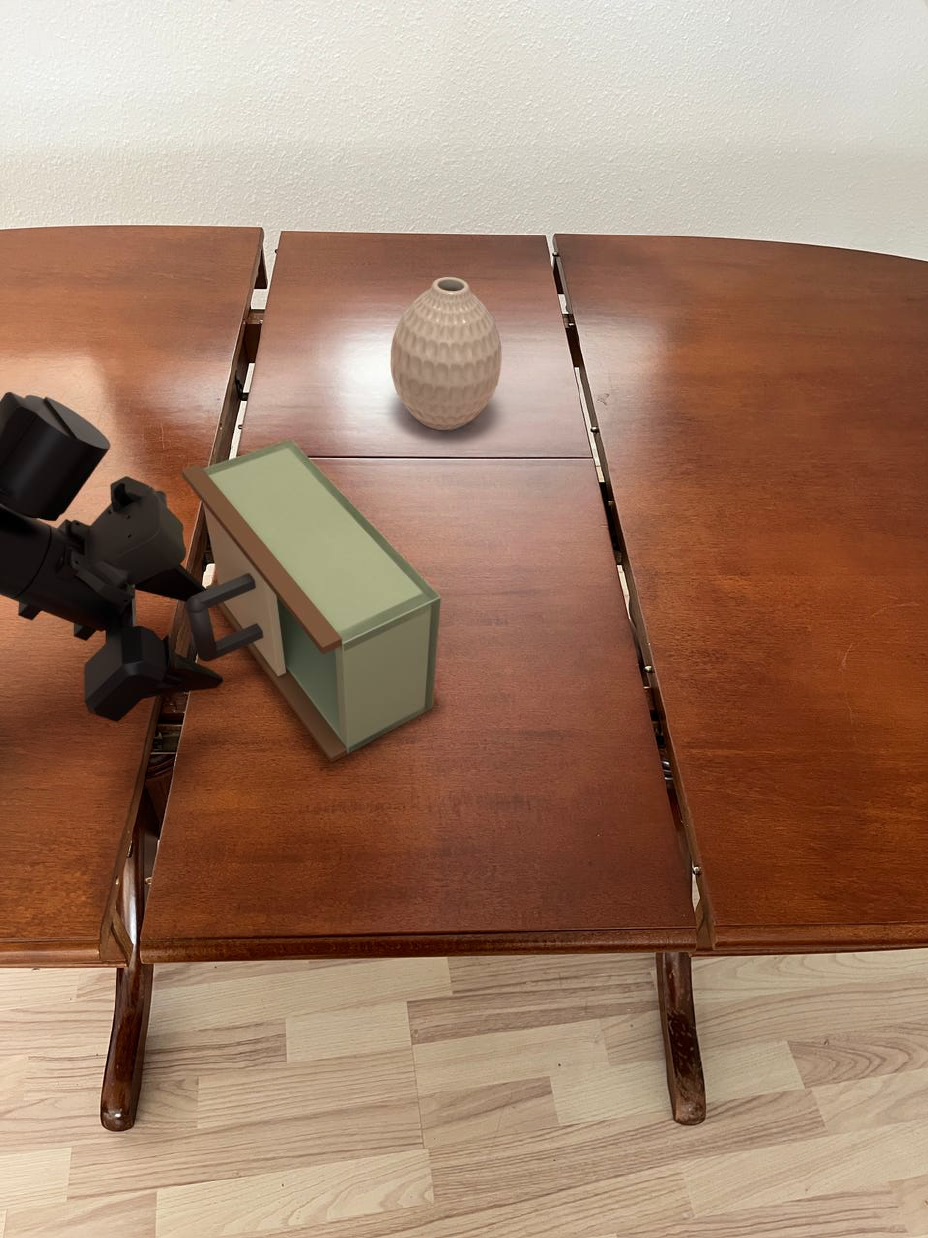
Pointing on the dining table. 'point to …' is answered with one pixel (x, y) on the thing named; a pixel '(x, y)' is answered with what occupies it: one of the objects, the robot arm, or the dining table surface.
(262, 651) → the door
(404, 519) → the dining table surface
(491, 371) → the vase
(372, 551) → the cabinet
